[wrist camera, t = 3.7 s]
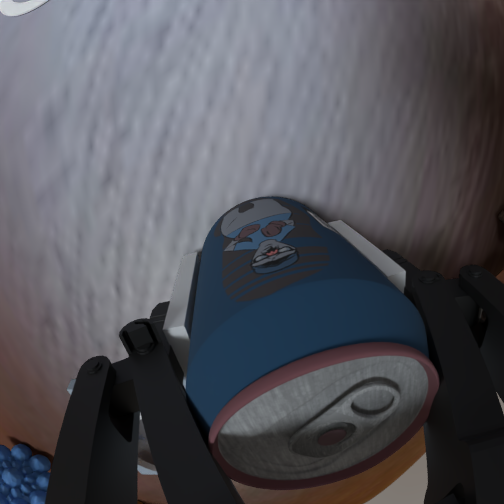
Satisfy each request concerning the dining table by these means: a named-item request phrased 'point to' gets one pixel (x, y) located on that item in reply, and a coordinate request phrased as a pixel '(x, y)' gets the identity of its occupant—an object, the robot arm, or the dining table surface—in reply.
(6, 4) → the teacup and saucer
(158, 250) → the dining table surface
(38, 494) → the grapes
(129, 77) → the dining table surface
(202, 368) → the soda can
